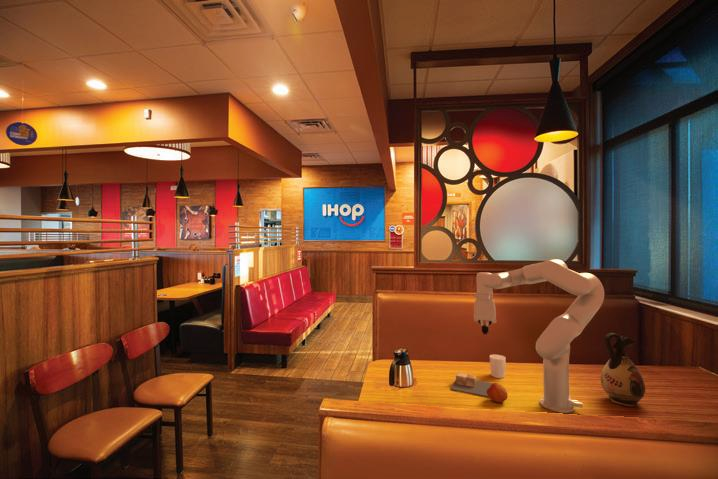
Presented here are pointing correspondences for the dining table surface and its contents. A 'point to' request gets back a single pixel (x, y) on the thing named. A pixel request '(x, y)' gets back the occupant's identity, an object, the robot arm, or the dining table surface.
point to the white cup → (497, 366)
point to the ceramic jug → (621, 374)
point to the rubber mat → (473, 388)
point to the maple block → (466, 379)
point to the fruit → (497, 393)
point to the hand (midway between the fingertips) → (485, 333)
